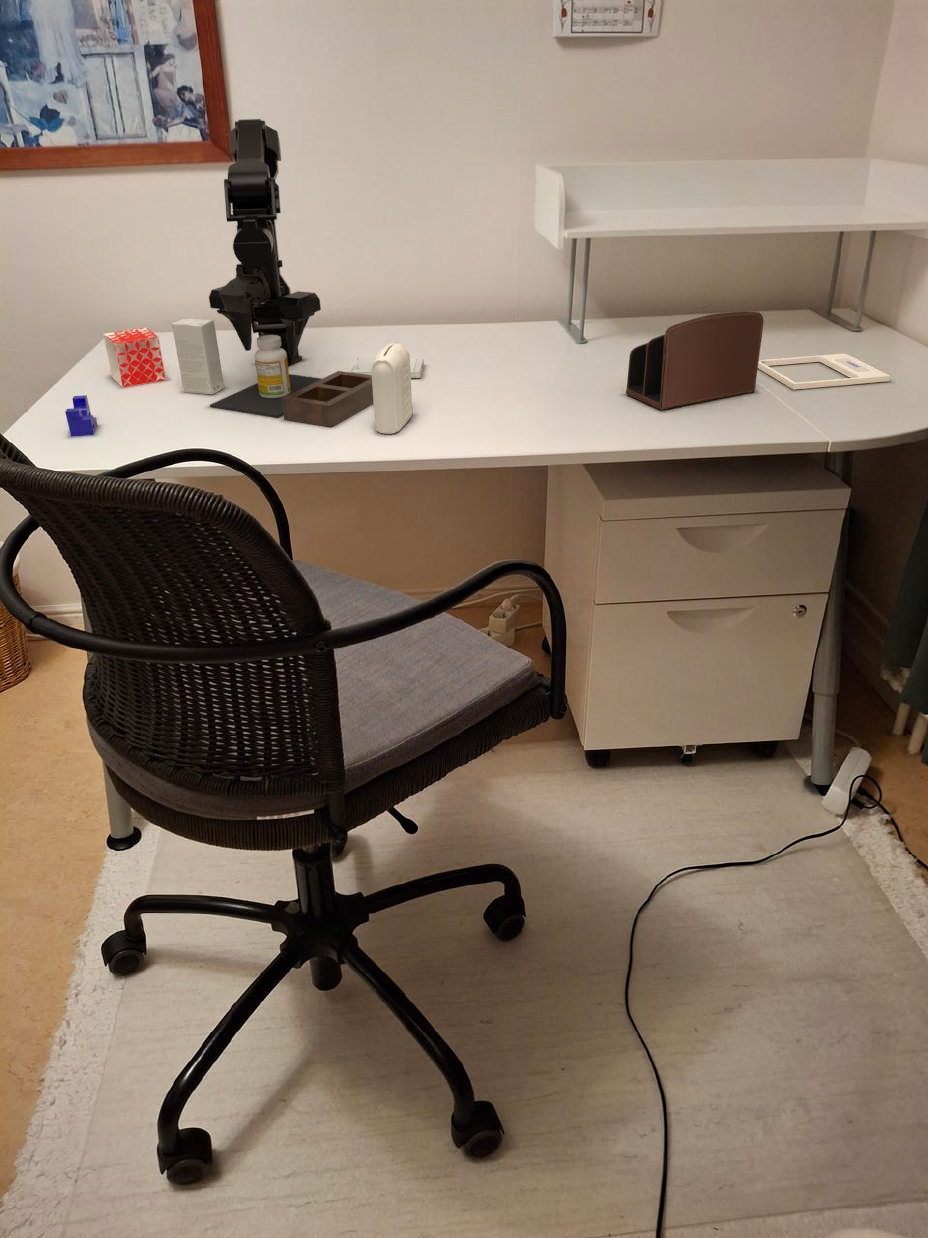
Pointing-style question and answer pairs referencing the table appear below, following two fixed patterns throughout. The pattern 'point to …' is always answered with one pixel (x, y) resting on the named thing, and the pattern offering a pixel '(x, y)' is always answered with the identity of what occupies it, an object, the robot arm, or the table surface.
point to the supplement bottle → (272, 367)
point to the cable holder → (81, 418)
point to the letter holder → (698, 361)
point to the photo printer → (391, 388)
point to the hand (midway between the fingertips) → (270, 352)
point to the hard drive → (366, 364)
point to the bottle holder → (329, 399)
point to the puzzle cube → (135, 357)
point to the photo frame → (839, 362)
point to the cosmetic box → (198, 356)
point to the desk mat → (261, 398)
